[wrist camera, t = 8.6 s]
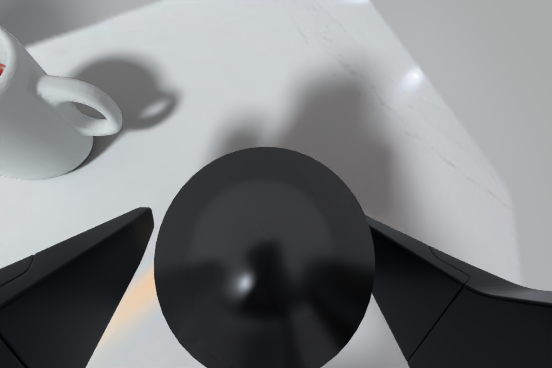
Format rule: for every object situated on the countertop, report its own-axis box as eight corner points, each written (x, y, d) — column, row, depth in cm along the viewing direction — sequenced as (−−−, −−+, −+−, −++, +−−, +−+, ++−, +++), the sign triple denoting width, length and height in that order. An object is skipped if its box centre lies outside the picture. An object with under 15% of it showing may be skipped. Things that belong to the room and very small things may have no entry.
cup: (146, 108, 19) (90, 16, 12) (143, 185, 17) (69, 130, 9) (5, 109, 17) (-175, -5, 9) (-23, 198, 14) (-296, 139, 7)
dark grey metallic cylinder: (288, 257, 17) (412, 262, 5) (239, 300, 15) (249, 466, 3) (254, 211, 18) (289, 118, 6) (204, 246, 16) (107, 220, 4)
